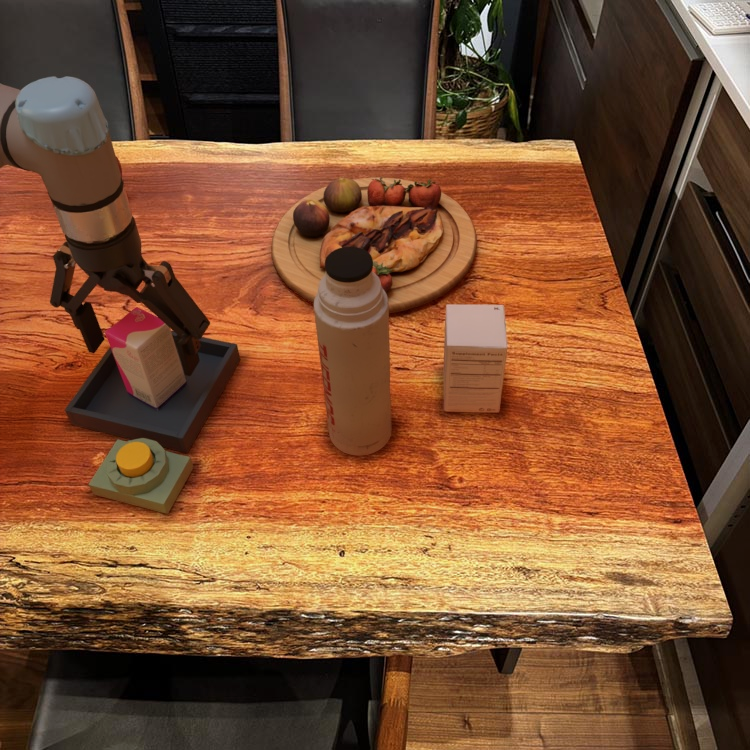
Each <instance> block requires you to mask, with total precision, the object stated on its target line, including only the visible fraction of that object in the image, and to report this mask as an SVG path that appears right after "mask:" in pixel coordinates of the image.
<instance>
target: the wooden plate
mask: <svg viewBox="0 0 750 750" xmlns="http://www.w3.org/2000/svg"><path fill="white" fill-rule="evenodd" d="M270 246H271V247H270V250H271V251H270V252H271V253H270V254H271V259H272V263H273V266H274V269H275V271H276V272H277V275H278V276H279V277H280V278H281V280H282V281H283V282H284V283H285V285H286V286H287V287H288V288H290V290H292V291H293V292H294V293H295V294H297V295H298V296H300V297H301V298H303V299H305V300H306V301H308V302H311V303H313V304H314V299H315V297H316V295H317V293H318V288H319V283H320V281H321V279H322V278H323V276H324V275H325V272H326V270H325V259H326V257H327V256H328V255H329V254H330V253H331V252H332V251H334V250H336V249H338V248H342V247H358V248H361V249H364V250H366V251H367V252H368V253H369V254H370V255H371V257H372V259H373V269H372V272H374V273H375V274H376V275H377V276H378V277H379V279H380V282H381V286H382V288H383V289H384V291H385V292H386V294H387V297H388V304H389V314H394V313H398V312H399V313H400V312H404V311H407V310H411V309H415V308H418V307H420V306H423V305H425V304H429V303H430V302H433V301H435V300H437V299H438V298H440V297H442V296H443V295H445V294H447V293H448V292H449V291H450V290H452V289H453V288H454V287H456V286H457V285H458V284H459V283H460V282H461V281H462V280H463V279H464V278H465V276H466V275H467V274H468V272H469V271H470V269H471V267H472V265H473V264H474V261H475V258H476V254H477V250H478V249H477V248H478V236H477V230H476V227H475V225H474V222H473V221H472V218H471V217H470V215H469V214H468V212H467V211H466V210H465V209H464V208H463V207H462V205H460V203H459V202H457V201H456V200H455V199H453V198H452V197H450V196H449V195H447V194H446V193H444V192H442V189H441V186H440V185H439V184H437V183H436V181H432V179H431V178H429V179H428V180H427V183H426V182H418V181H414V180H413V181H412V180H407V179H401V178H394V177H380V176H379V177H378V176H377V177H361V178H354V179H353V178H350V177H347V176H340V177H338V178H336V179H334V180H333V181H331V182H329V183H328V184H327V185H326V186H324V187H321V188H319V189H317V190H315V191H313V192H311V193H309V194H307V195H306V196H304V197H302V198H301V199H300V200H299V201H297V202H296V203H294V204H293V206H291V207H289V209H288V210H287V211H286V212H285V214H284V215H283V216H282V217H281V219H280V220H279V222H278V224H277V225H276V227H275V229H274V231H273V234H272V240H271V245H270Z"/></svg>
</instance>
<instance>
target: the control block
mask: <svg viewBox="0 0 750 750" xmlns="http://www.w3.org/2000/svg"><path fill="white" fill-rule="evenodd" d="M131 442H142V443H144V444H146V445H147V446H148V447H149V448H150V451H151V453H152V456H153V459H154V462H153V466H152V468H151V469H150V470H149V471H148V472H147V473H146V474H144V475H142V476H140V477H134V478H132V477H127V476H125V475H123V474H122V473H121V471H120V469H119V467H118V465H117V462H116V455H117V453H118V451H119V450H120V449H121V448H122V447H123V446H124V445H126V444H128V443H131ZM193 469H194V464H193V461H192V459H191V457H190V456H187V455H183V454H179V453H174V452H171V451H167V450H166V449H165V448H164V447H162V446H161V445H160V444H159V443H158V442H157V441H154V440H150V439H146V438H140V439H135V440H131V439H128V440H127V441H125V440H122V439H119V438H118V439H117V438H116V441H115V442H114V444H113V445H112V447H111V449H110V450H109V452H108V453H107V455H106V456H105V458H104V459H103V461H102V462H101V464H100V465H99V467H98V468H97V470H96V471H95V473H94V475H93V476H92V478H91V479H90V481H89V483H88V487H89V488H90V491H91V492H92V494H93V496H98V497H102V498H106V499H109V500H113V501H117V502H120V503H125V504H129V505H132V506H135V507H139V508H144V509H147V510H151V511H154V512H158V513H161V514H166V515H169V514H170V512H171V509H172V508H173V506H174V504H175V502H176V501H177V499H178V497H179V495H180V493H181V491H182V490H183V488H184V486H185V484H186V482H187V480H188V478H189V477H190V475H191V473H192V471H193Z"/></svg>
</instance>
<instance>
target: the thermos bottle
mask: <svg viewBox="0 0 750 750" xmlns="http://www.w3.org/2000/svg"><path fill="white" fill-rule="evenodd" d="M372 269H373V259H372V257H371V255H370V254H369V253H368V252H367V251H366V250H364V249H361V248H358V247H342V248H338V249H336V250H334V251H332V252H331V253H330V254H329V255H328V256H327V257H326V259H325V270H326V272H325V275H324V276H323V278H322V279H321V281H320V283H319V288H318V293H317V295H316V297H315V299H314V303H313V313H314V320H315V329H316V338H317V346H318V347H317V348H318V351H319V352H318V354H319V361H320V362H319V363H320V370H321V376H322V386H323V387H322V388H323V395H324V396H323V397H324V403H325V405H324V406H325V412H326V421H327V430H328V436H329V440H330V441H331V443H332V444H333V446H334V447H335V448H336V449H338V450H339V451H340V452H342V453H344V454H347V455H350V456H359V457H361V456H362V457H363V456H368V455H372V454H375V453H376V452H378V451H381V450H382V448H384V447H385V446H386V445H387V444H388V443H389V441H390V438H391V436H392V427H393V426H392V425H393V423H392V396H391V394H392V393H391V352H390V351H391V349H390V347H391V346H390V313H389V304H388V297H387V294H386V292H385V291H384V289H383V288H382V286H381V282H380V279H379V277H378V276H377V275H376V274H375V273H374V272H372Z"/></svg>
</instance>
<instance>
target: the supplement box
mask: <svg viewBox="0 0 750 750" xmlns="http://www.w3.org/2000/svg"><path fill="white" fill-rule="evenodd" d="M171 331H172V329H171V328H170V327H168V326H167V325H166V324H165V323H164V322H163V321H162V320H161V319H160V318H158V317H157V316H156V315H155V314H152V313H151V312H149V311H146V310H144V309H142V308H140V307H138V306H136V307H134V308H133V309H131V311H129V312H128V313H127V314H126V315H124V316H123V317H122V318H121V319H120V320H118V321H116V323H115V324H113V325H112V326H111V327H109V328H108V329H106V330H105V331H104V334H105V335H104V336H105V337H106V340H107V342H108V345H109V348H110V347H111V350H112V353H113V355H114V358H115V361H116V363H117V366H118V368H119V371H120V374H121V376H122V379H123V381H124V384H125V387H126V390H127V392H128V394H129V395H131V396H132V397H134V398H136V399H138V400H139V401H141V402H143V403H145V404H147V405H148V406H150V407H152V408H154V409H155V410H157V411H158V410H159V409H160V408H162V407H163V406H164V405H165V404H166V403H167V402H168V401H169V400H170V399H171V398H172V397H173V396H174V395H175V394H177V393H178V392H179V391H180V390H181V389H182V388H183V387H184V386H185V385H186V384H187V382H186V379H185V376H184V372H183V369H182V366H181V362H180V359H179V356H178V353H177V349H176V346H175V343H174V339H173V336H172V333H171Z"/></svg>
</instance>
